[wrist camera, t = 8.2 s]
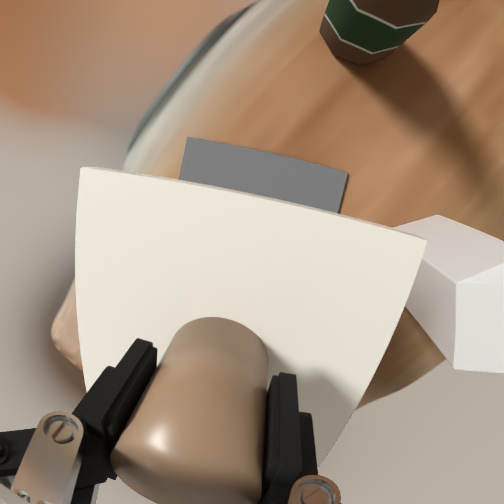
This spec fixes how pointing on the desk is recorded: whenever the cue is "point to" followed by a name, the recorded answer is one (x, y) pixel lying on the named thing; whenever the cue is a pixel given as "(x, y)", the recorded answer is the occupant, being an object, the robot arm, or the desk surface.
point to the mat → (262, 174)
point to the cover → (229, 321)
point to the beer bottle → (372, 26)
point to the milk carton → (460, 293)
